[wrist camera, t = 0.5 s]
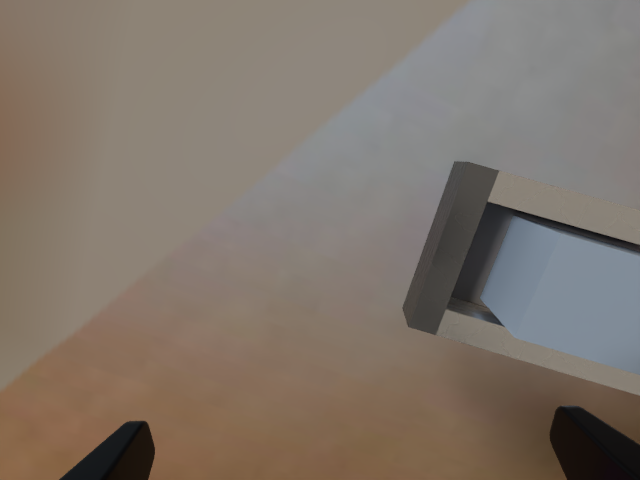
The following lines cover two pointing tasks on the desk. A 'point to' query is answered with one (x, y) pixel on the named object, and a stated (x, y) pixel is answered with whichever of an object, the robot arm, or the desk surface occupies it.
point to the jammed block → (568, 293)
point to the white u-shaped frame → (452, 247)
